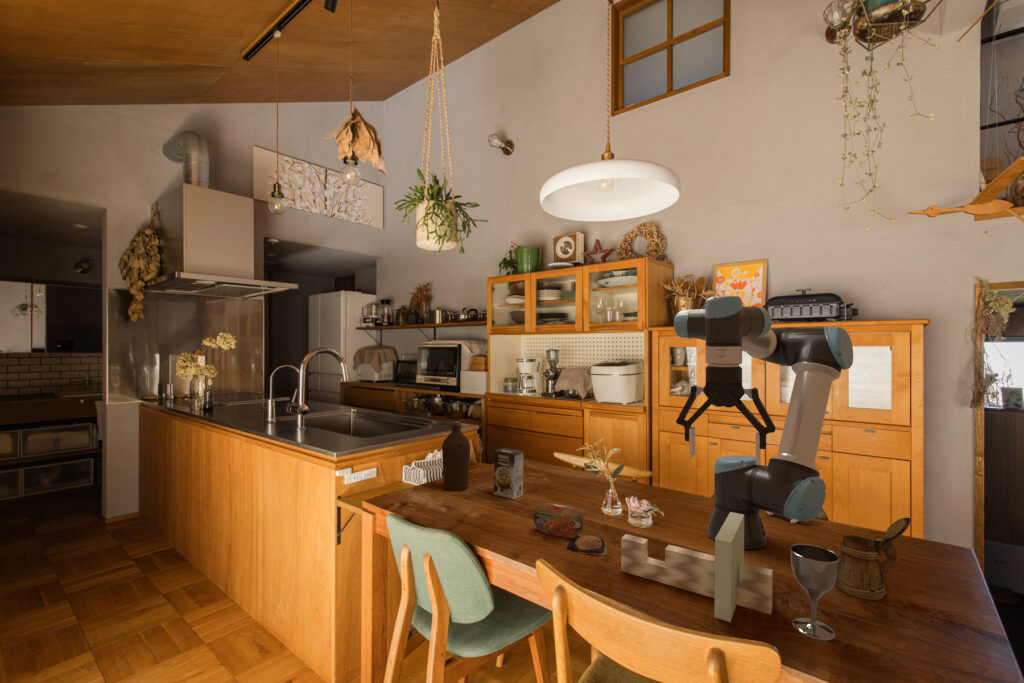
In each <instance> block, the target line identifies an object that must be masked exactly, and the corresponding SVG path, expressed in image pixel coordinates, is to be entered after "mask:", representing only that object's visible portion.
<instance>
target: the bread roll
mask: <svg viewBox="0 0 1024 683" xmlns="http://www.w3.org/2000/svg"><path fill="white" fill-rule="evenodd" d="M566 552H568V553H569V552H570V553H575V554H582V555H583V554H585V555H595V556H607V555H608V543H607V542H605V541H604V540H603V538H600V537H597V536H594V535H589V534H585V535H584V534H583V535H577V536H575V537H574V538H569V542H567V546H566Z"/></svg>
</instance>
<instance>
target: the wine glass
mask: <svg viewBox="0 0 1024 683" xmlns="http://www.w3.org/2000/svg"><path fill="white" fill-rule="evenodd" d="M789 549H790V550H789V551H790V552H789V553H790V554H789V555H790V564H791V570H792V574H793V576H794V579H795V580H796V581H797V583H798V584H799V585H800V587H801V588H802V589H803V591H804V592H805V593H806V595H807V597H808V599H809V605H810V614H811V615H810V616H811V617H796V618H794V619H793V620H792V622H791V624H792V627H793V628H794V629H795V631H797V632H798V633H800V634H802V635H804V636H806V637H808V638H811V639H813V640H818V641H832V640H834V639H835V638H836V633H835V631H834V630H833V629H832V627H830V626H829V625H828V624H826V623H824V622H821V621H819V620H817V616H816V615H817V608H818V602H819V600H820V598H822V596H824V595H825V594H827V593H828V592H830V591H831V590H832V589H833V588H834V587H835V586H836V585H835V583H836V580H837V576H838V570H839V564H840V558H839V555H838V554H837V553H836V552H835V551H833V550H832V549H829V548H826V547H824V546H819V545H817V544H810V543H800V542H798V543H795V544H794V543H793V544H791V546H790V548H789Z"/></svg>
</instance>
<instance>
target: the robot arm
mask: <svg viewBox="0 0 1024 683" xmlns="http://www.w3.org/2000/svg"><path fill="white" fill-rule="evenodd" d="M772 324H773V319H772V316H771V314H770V312H769V311H768V310H766V309H765V308H762V307H759V306H755V305H752V306H748V305H747V306H745V305H744V306H743V301H742V298H741V297H740V296H738V295H737V296H736V295H719V296H711V297H709V298H707V299H706V301H705V308H697V309H696V308H695V309H694V308H689V309H684V310H683V309H682V310H680V311H679V312H677V313H676V315H675V316H674V319H673V330H674V332H675V333H676V335H677V336H678V337H680V338H681V339H688V340H690V339H698V340H702V341H705V353H704V354H705V356H704V357H705V360H704V362H705V363H706V364H707V366H706V367H705V383H704V384H705V385H704V386H698V385H697V384H694V385H692V386H690V390H689V391H690V392H689V396H688V398H687V400H686V402H685V403H684V406H683V407H682V409H681V411H680V413H679V415H678V417H677V419H676V420H675V422H676V424H677V425H680V426H682V427H683V428H684V441H685V442H689V443H688V444H689V445H688V446H689V447H688V448H689V451H688V452H689V457H691V458H693V457H694V456H696V427H695V426H692V425H693V424H694V423H695V422H696V421H697V420H698V419H699V418H700V417H701V416H702V415H703V414H704V413H705V412H706V411H707V410H708V409H709V407H710V406H712V405H713V406H715V407H716V408H720V407H725V408H728V409H729V408H733V407H735V409H737V410H738V411H739V412H740V413H741V414H742V415H743V416H744V417H745V418H746V420H747V421H748V422H749V423H750V424H751V425H752V426H753V428H754V429H755V430H756V431H757V432H755V456H754V455H753V456H752V455H741V454H740V455H726V456H721V457H719V458H717V459H716V460H715V462H714V469H713V474H714V475H713V477H714V478H713V480H714V481H713V483H714V486H713V487H714V490H713V492H714V495H713V496H714V497H713V498H714V500H713V501H714V504H713V510H712V512H711V515H710V519H709V523H708V524H707V536H708V537H709V538H710V539H711V540H713V541H714V542H715V538H716V536H717V534H718V533H719V531H720V529H721V527H722V526H723V524H724V522H725V520H726V518H727V517H728V515H729V513H730V512H733V513H738V514H744V550H759V549H762V548H764V547H766V545H767V533H766V531H765V528H764V523H763V521H762V517H761V515H760V510H761V511H764V512H766V511H768V512H771V513H774V514H775V515H778V516H782V517H785V518H787V519H790V520H791V519H795V520H799V521H800V522H805V523H806V522H810V521H812V520H814V519H815V518H816V517H818V515H819V514H820V513H821V511H822V508H823V506H824V503H825V501H826V496H827V492H826V490H827V487H826V482H825V480H824V479H823V478H821V477H820V474H821V472H820V470H819V469H818V468H817V467H816V465H815V463H816V459H817V455H818V449H819V444H820V440H821V435H822V430H823V426H824V421H825V416H826V412H827V407H828V403H829V399H830V398H829V397H830V393H831V388H832V385H833V384H832V382H833V381H836V380H838V379H840V377H841V372H842V370H844V371H845V370H849V369H851V367H852V366H853V362H854V349H853V342H852V339H851V336H850V335H849V333H848V331H846V329H845V328H843V327H840V326H828V325H825V326H804V327H803V326H800V327H799V326H798V327H797V326H794V327H791V326H790V327H789V326H787V327H772ZM743 352H745V353H747V355H749V356H750V357H751V358H754V359H758V360H761V361H764V362H767V363H770V364H774V365H779V366H783V367H790V368H791V370H792V371H793V373H794V374H795V378H794V381H793V382H794V383H793V387H792V391H791V394H790V399H789V404H788V406H787V407H788V408H787V411H786V412H787V413H786V416H785V420H784V425H783V429H782V433H781V438H780V442H779V446H778V450H777V454H776V455H773V456H772V457H770V458H769V459H768V460H769V461H768V464H767V465H763V464H762V462H761V450H766V449H767V435H768V434H770V433H771V434H773V433H775V432H776V426H775V423H774V422H773V419H772V418H771V416H770V415H769V412H768V410H767V409H766V407H765V405H764V402H763V401H762V400H761V398H760V394H759V389H758V387H753V388H744V387H743V367H741V366H740V365H742V364H743ZM701 393H703V394H704V396H705V397H706V398H707V399H706V400H705V401H704V402H703V404H702V405H700V407H699V408H698V409H697V410H696V411H695V412H694V413H693V414H692V416H690V417H689V418H688V419H686V417H687V416H688V414H689V412H690V410H691V408H692V406H693V404H694V403H695V401H696V399H697V397H698V396H700V395H701ZM745 395H746V396H747V397H748V399H752V403H753V404H754V406H755V407H756V409H757V411H758V414H759V415H760V417H761V419H762V420H763V423H764V424H765V426H764V425H763V424H762V422H760V420H759V419H758V418H757V417H756V416H755V415H754V414H753V412H751V410H750V409H748V408H749V407H747V406H746V405H745V404H744V402H743V401H742V400H741V399H742V398H743V396H745ZM799 521H798V522H799Z"/></svg>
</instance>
